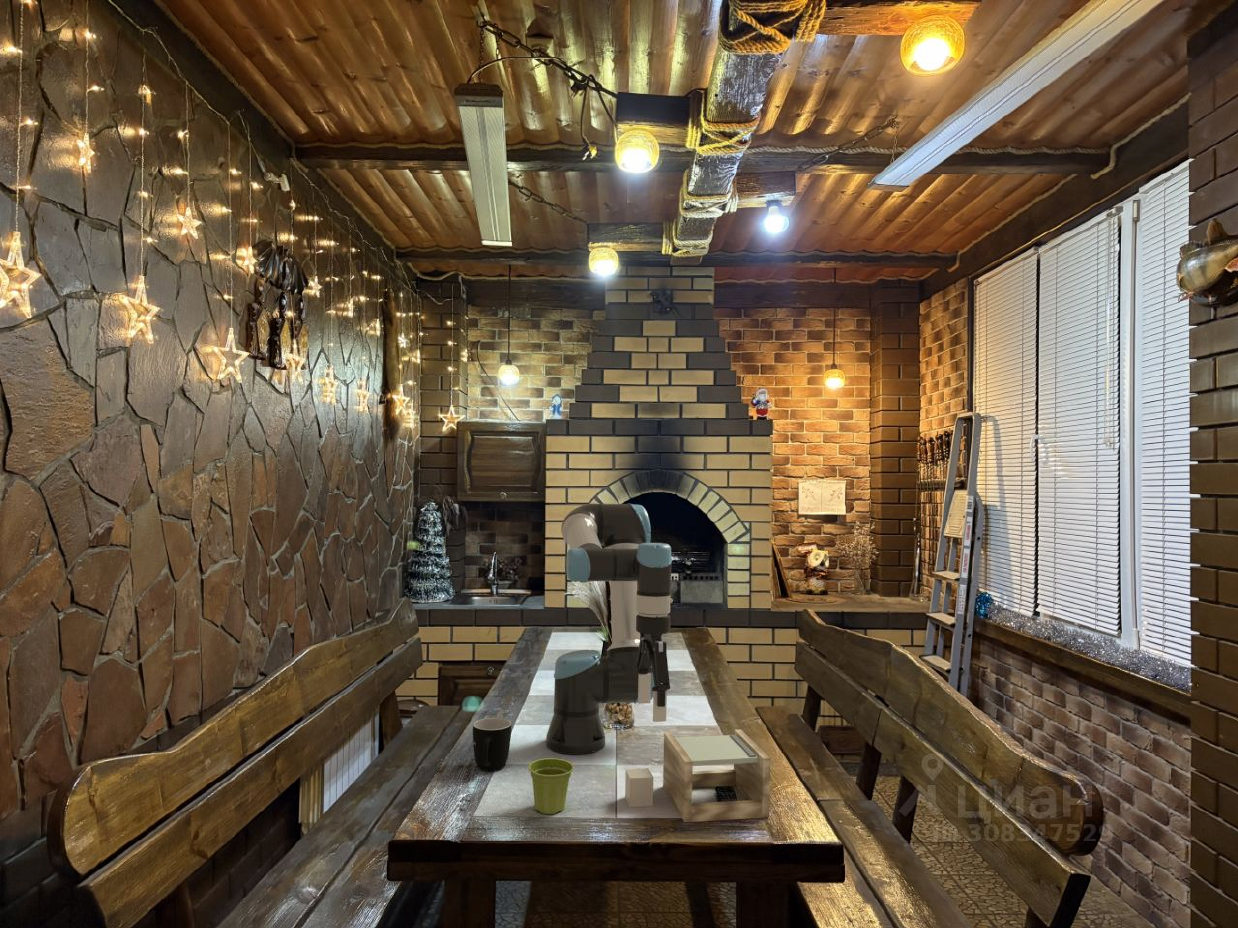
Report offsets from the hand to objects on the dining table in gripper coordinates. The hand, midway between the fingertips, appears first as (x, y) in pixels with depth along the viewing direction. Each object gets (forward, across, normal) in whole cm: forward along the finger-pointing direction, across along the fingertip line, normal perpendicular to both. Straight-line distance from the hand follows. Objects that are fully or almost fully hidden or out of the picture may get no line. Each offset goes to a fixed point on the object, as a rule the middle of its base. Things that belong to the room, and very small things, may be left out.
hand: (651, 711), depth 169 cm
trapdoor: (+7, -6, -13) cm, 16 cm away
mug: (+18, +20, +34) cm, 43 cm away
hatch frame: (+18, -5, -13) cm, 23 cm away
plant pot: (+18, -4, +22) cm, 29 cm away
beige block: (+18, -3, +3) cm, 19 cm away
